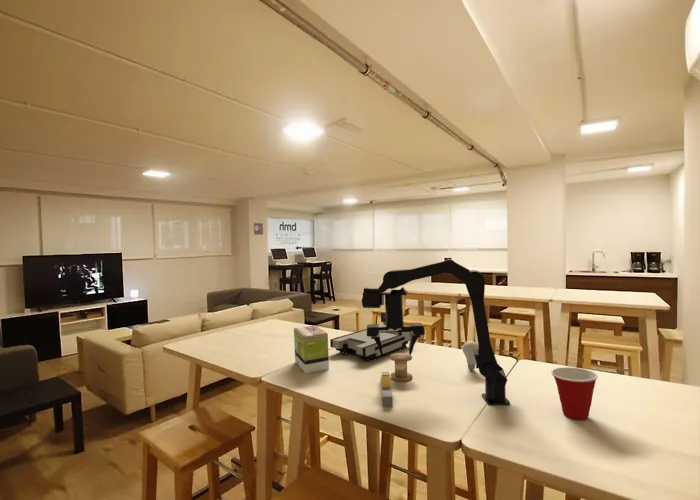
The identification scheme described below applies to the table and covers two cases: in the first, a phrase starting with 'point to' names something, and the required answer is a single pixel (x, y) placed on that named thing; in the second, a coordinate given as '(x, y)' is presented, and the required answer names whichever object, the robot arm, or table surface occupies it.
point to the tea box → (311, 349)
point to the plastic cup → (575, 391)
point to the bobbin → (401, 367)
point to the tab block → (385, 380)
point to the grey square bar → (387, 397)
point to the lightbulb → (470, 353)
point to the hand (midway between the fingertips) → (395, 355)
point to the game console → (370, 343)
